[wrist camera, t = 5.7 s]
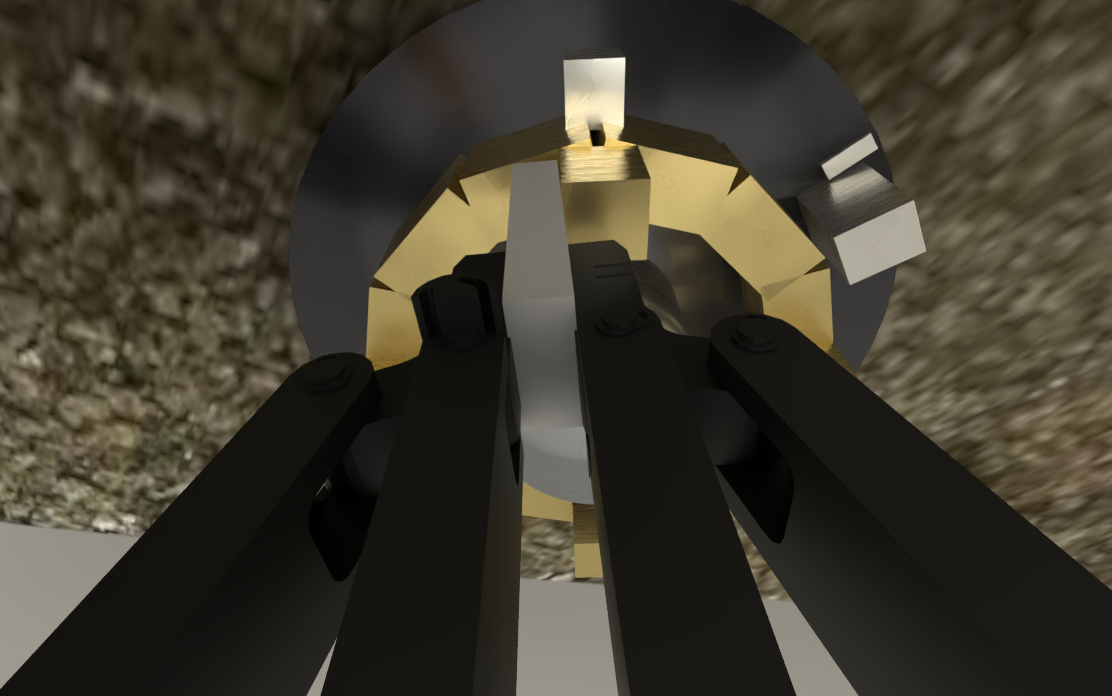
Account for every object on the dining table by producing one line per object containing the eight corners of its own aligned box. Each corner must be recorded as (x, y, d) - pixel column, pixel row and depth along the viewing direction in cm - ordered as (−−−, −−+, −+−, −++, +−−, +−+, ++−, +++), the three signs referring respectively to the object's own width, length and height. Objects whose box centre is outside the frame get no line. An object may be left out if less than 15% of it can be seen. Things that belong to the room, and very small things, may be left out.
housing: (272, 418, 27) (191, 563, 21) (366, -180, 15) (242, -250, 9) (695, 527, 32) (730, 670, 26) (1018, 141, 20) (1224, 236, 14)
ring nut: (309, 336, 22) (249, 441, 18) (591, -6, 16) (607, 22, 11) (593, 511, 28) (601, 622, 24) (879, 314, 22) (965, 414, 17)
